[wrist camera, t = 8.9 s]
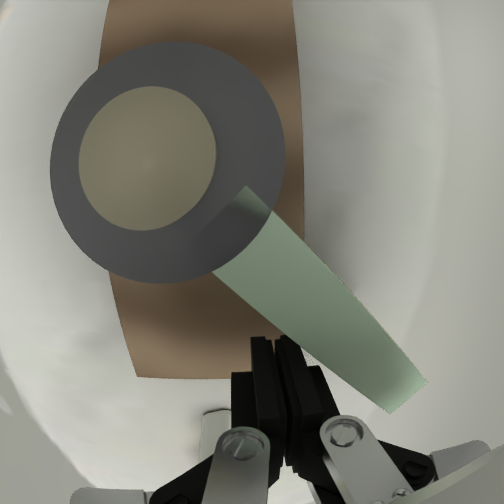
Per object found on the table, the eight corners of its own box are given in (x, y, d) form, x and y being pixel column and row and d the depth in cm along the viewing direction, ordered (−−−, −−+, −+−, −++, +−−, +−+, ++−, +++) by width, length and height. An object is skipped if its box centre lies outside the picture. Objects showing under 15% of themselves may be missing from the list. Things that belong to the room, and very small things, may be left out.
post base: (122, 2, 10) (111, -13, 8) (281, -14, 11) (287, -33, 9) (144, 358, 17) (136, 378, 15) (292, 354, 17) (298, 375, 15)
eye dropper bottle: (260, 409, 19) (277, 549, 7) (249, 446, 20) (259, 560, 9) (203, 404, 19) (192, 548, 7) (201, 442, 20) (194, 558, 9)
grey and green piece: (106, 172, 11) (3, 183, 5) (193, 76, 10) (154, -9, 4) (317, 359, 15) (356, 454, 8) (395, 288, 14) (474, 357, 7)
